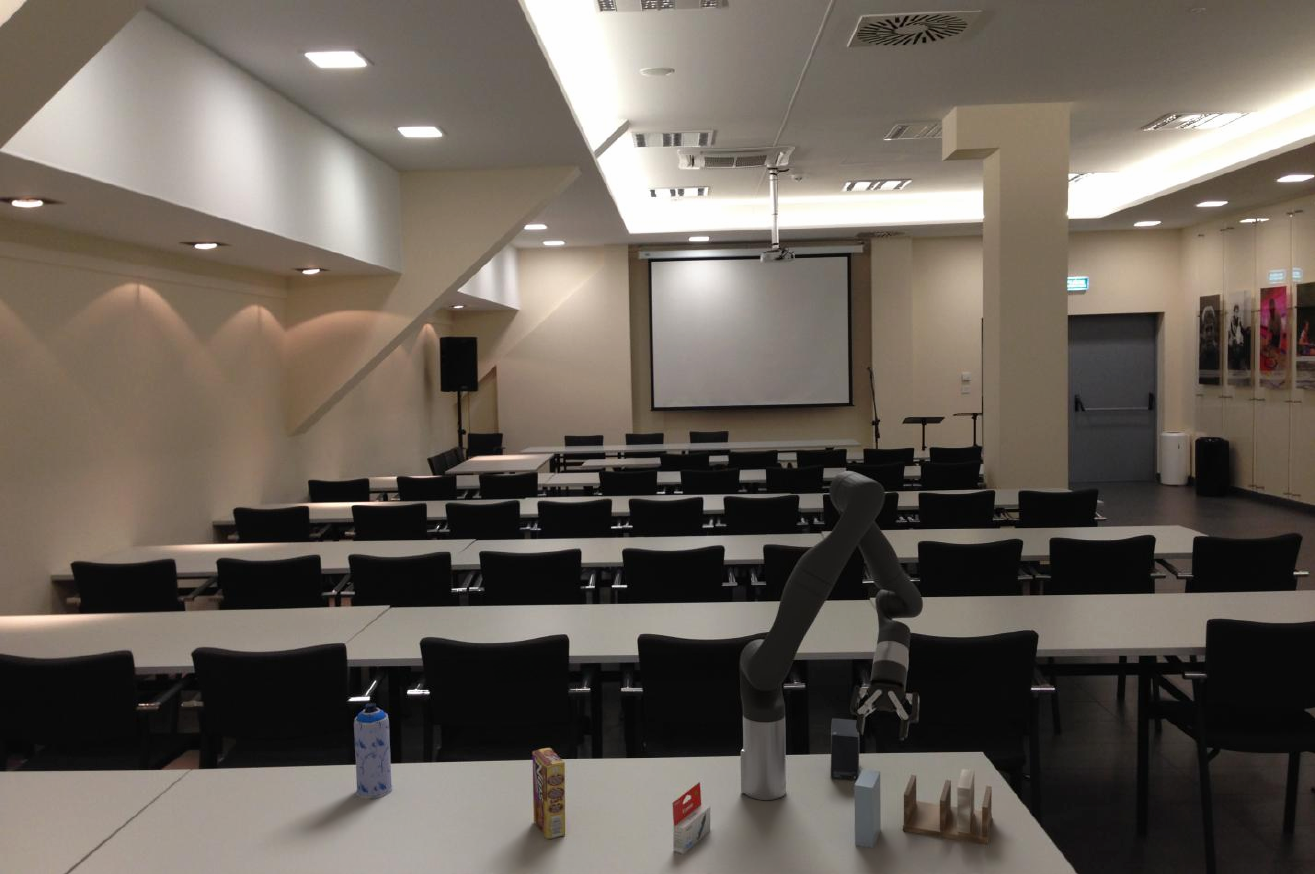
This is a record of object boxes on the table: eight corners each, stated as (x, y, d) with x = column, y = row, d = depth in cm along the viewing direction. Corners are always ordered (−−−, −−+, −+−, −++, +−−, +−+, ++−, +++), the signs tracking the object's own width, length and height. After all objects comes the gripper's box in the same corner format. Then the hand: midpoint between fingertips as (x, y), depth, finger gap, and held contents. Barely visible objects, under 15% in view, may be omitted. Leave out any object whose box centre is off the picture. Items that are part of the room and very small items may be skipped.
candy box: (567, 835, 192) (565, 762, 191) (547, 840, 190) (545, 766, 189) (552, 817, 200) (550, 746, 199) (533, 822, 198) (530, 750, 197)
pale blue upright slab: (855, 844, 186) (854, 785, 185) (863, 826, 193) (862, 768, 193) (873, 847, 185) (872, 787, 184) (880, 829, 192) (880, 771, 191)
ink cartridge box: (711, 830, 193) (710, 784, 192) (683, 855, 184) (682, 806, 183) (700, 827, 194) (699, 781, 194) (672, 851, 185) (671, 803, 184)
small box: (859, 781, 214) (859, 736, 213) (830, 779, 215) (829, 734, 215) (859, 762, 225) (859, 719, 224) (831, 760, 226) (830, 717, 225)
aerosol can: (400, 788, 216) (396, 702, 214) (372, 801, 209) (368, 713, 208) (376, 780, 220) (372, 696, 219) (348, 794, 213) (344, 706, 212)
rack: (902, 830, 191) (902, 782, 191) (912, 804, 202) (912, 759, 201) (986, 844, 185) (987, 795, 184) (991, 817, 196) (992, 770, 195)
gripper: (855, 655, 211) (844, 724, 201) (921, 662, 205) (913, 733, 195) (860, 671, 216) (849, 739, 206) (924, 678, 210) (917, 748, 201)
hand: (880, 736), depth 201 cm, fingers open, 8 cm apart
